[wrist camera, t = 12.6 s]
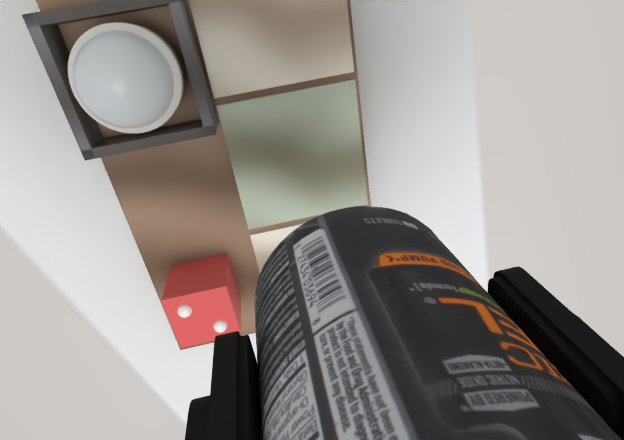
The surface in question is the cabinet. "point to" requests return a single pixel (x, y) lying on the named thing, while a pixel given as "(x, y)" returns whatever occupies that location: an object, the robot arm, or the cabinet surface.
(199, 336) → the red die
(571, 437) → the pill bottle
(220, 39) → the game board
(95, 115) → the dome
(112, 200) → the cabinet surface
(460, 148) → the cabinet surface
